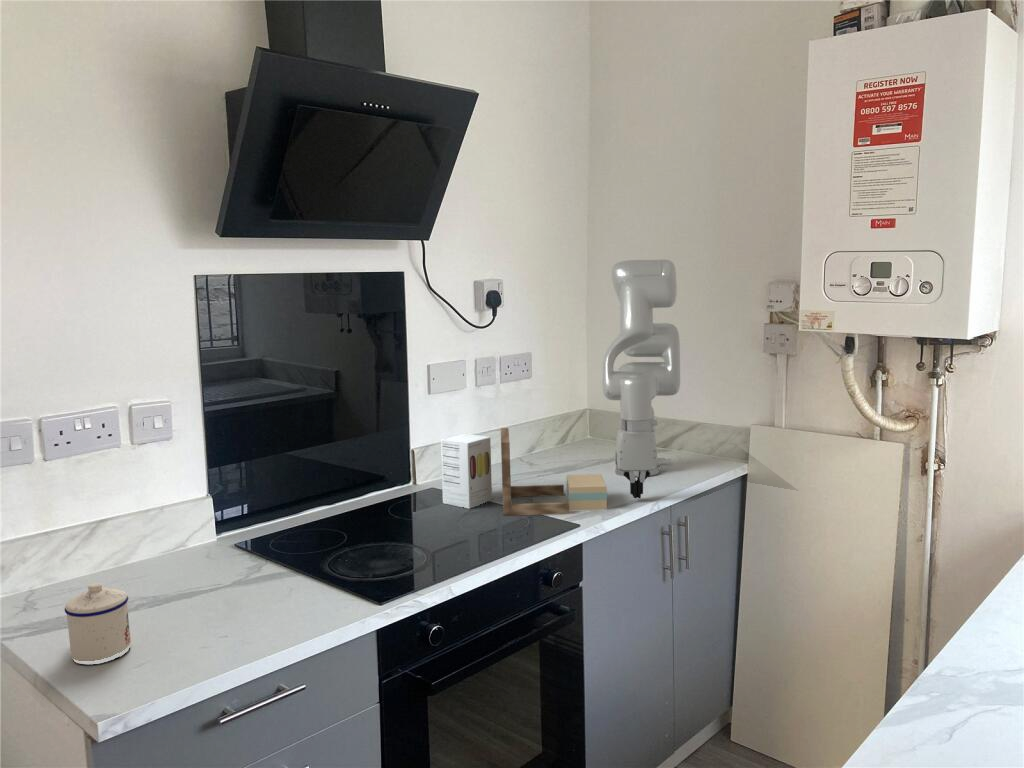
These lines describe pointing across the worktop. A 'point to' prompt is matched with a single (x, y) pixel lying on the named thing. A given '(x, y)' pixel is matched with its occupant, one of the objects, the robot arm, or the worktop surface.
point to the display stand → (526, 489)
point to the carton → (586, 492)
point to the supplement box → (466, 470)
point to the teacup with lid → (98, 623)
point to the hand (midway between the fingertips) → (636, 496)
